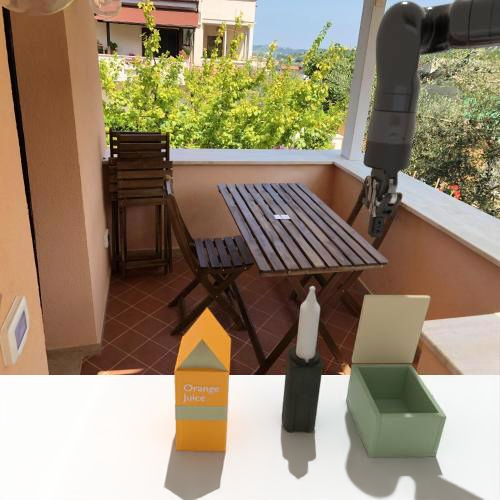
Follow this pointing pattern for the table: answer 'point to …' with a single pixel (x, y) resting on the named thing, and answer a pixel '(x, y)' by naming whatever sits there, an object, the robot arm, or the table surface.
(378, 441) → the chest
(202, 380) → the orange juice
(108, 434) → the table surface
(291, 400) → the candle
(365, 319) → the lid
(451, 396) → the table surface
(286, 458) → the table surface
